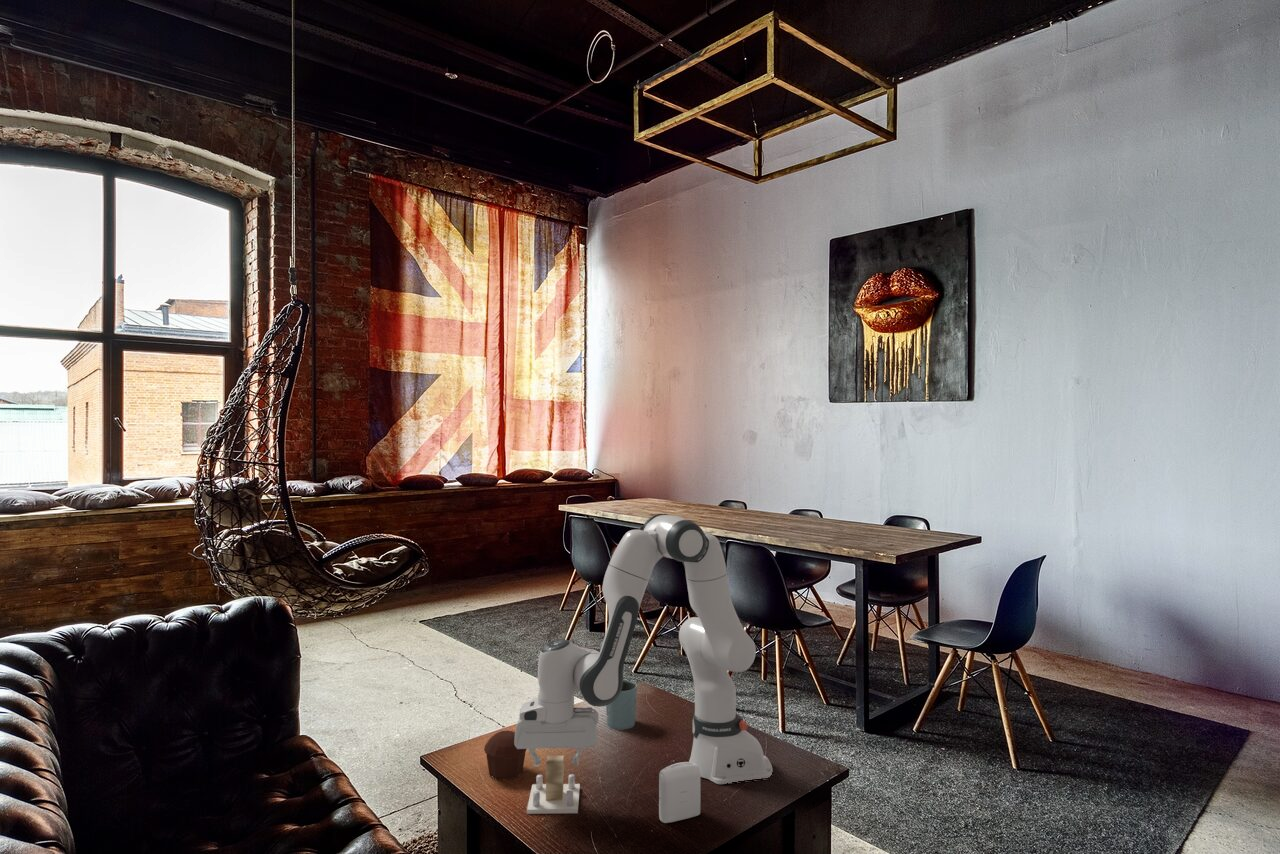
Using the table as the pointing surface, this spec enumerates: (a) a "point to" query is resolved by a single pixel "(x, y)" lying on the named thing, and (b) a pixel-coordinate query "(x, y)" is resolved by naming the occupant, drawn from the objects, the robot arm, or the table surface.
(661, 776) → the photo printer
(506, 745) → the muffin
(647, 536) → the robot arm
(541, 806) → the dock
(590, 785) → the table surface
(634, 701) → the teal cup
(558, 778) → the block
